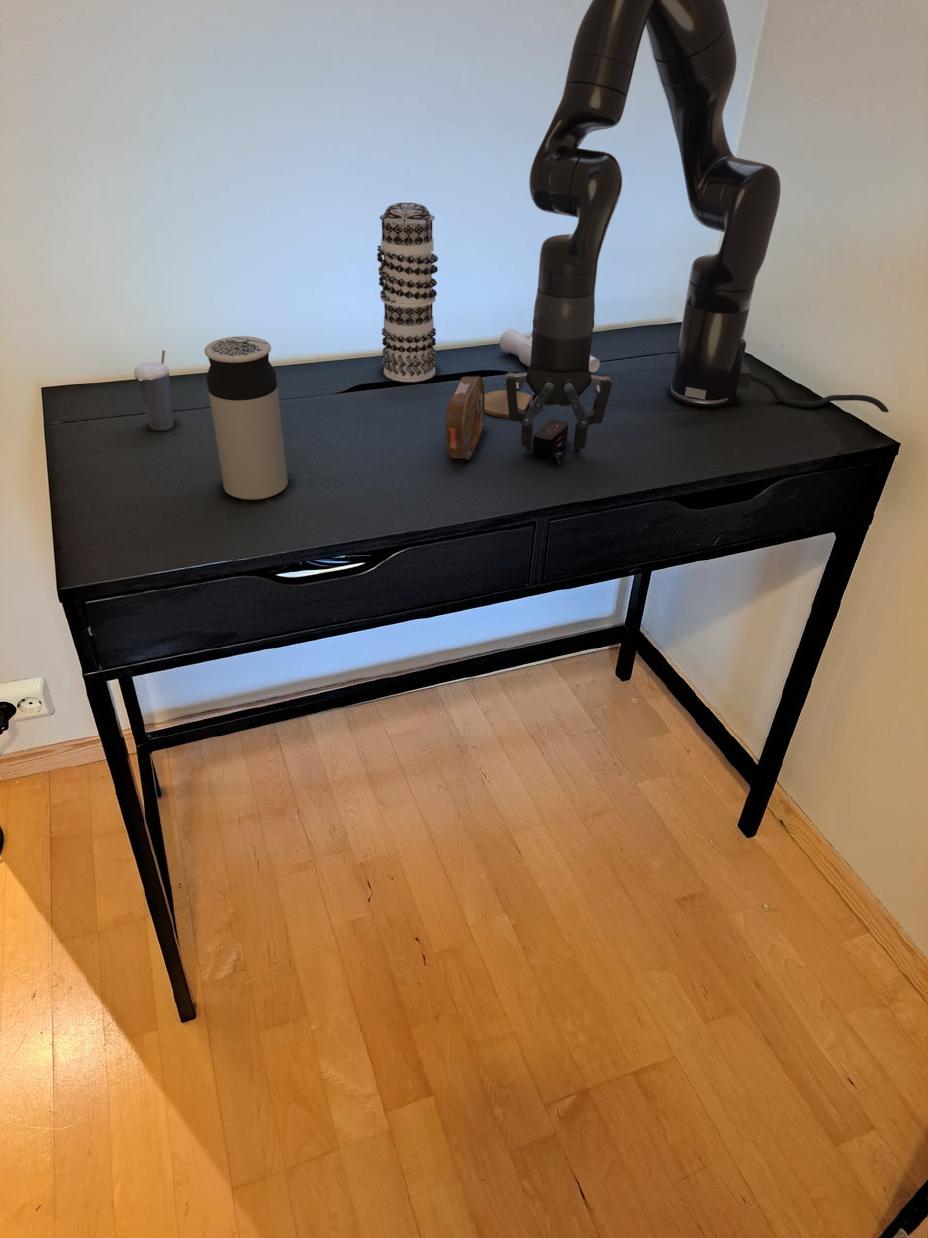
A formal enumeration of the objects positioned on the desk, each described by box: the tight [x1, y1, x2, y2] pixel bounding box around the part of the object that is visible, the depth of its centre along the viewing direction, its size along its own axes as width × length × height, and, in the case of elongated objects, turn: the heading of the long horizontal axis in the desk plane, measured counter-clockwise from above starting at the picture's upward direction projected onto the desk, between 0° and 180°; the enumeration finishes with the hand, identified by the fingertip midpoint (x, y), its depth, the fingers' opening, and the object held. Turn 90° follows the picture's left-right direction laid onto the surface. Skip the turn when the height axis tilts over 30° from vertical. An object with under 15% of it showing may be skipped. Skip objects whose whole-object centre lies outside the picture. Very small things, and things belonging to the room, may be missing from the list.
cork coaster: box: [484, 389, 532, 419], centre depth 136 cm, size 9×9×1 cm
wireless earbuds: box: [531, 418, 570, 465], centre depth 122 cm, size 5×7×3 cm, turn 151°
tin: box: [445, 375, 485, 461], centre depth 122 cm, size 15×3×8 cm, turn 168°
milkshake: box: [133, 350, 175, 432], centre depth 125 cm, size 4×5×10 cm
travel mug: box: [203, 335, 289, 500], centre depth 108 cm, size 8×8×18 cm
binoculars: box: [499, 328, 601, 374], centre depth 148 cm, size 10×16×5 cm, turn 30°
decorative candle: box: [376, 202, 439, 383], centre depth 138 cm, size 9×9×25 cm
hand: (552, 448), depth 122 cm, fingers open, 6 cm apart
